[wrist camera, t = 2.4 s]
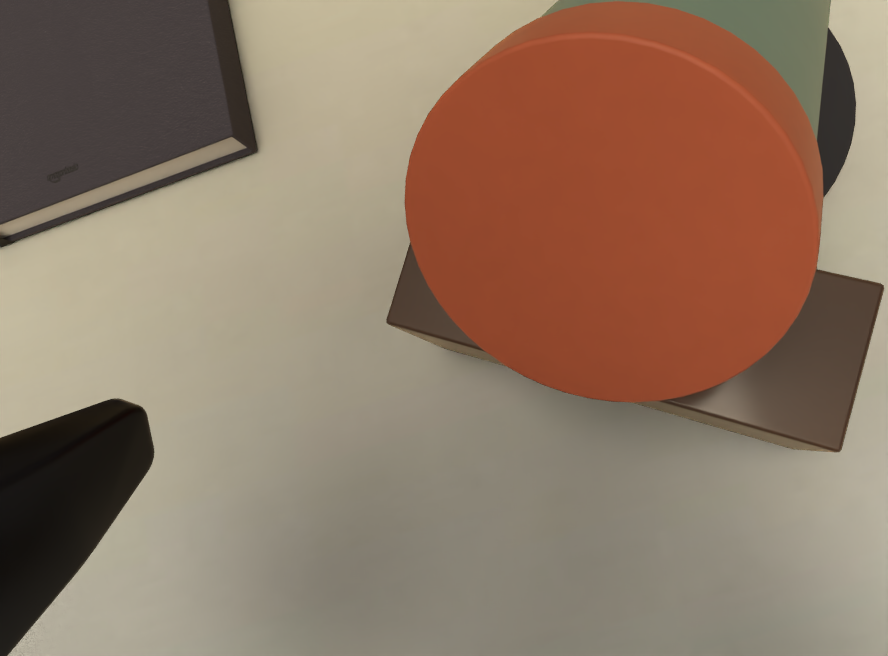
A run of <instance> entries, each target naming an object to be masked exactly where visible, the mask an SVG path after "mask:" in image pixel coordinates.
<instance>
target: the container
mask: <svg viewBox="0 0 888 656" xmlns="http://www.w3.org/2000/svg"><path fill="white" fill-rule="evenodd" d="M830 3H831V0H559V1H558V2H556V3H555V4H554V5H553V6H552V7H551V8H550V9H549V10H548V11H547V12H546V13H545V14H544V15H543V16H541V17H540V18H538V19H536V20H534V21H532V22H530V23H529V24H527V25H525V26H523V27H521V28H519V29H518V30H516V31H514V32H513V33H511V34H510V35H509V36H507V37H506V38H505V39H503V40H502V41H501V42H499V43H498V44H497V45H495V46H494V47H493V48H492V49H491V50H490V51H489V52H487V53H486V54H485V55H484V56H483V57H482V58H481V59H480V60H479V61H477V62H476V63H475V64H474V65H473V66H472V67H471V68H470V69H468V70H467V71H466V72H465V73H464V74H463V75H462V76H461V77H460V78H459V79H458V80H457V81H456V82H455V83H454V84H453V85H452V86H451V87H450V88H449V89H448V90H447V91H446V92H445V93H444V94H443V95H442V96H441V97H440V99H439V100H438V102H437V103H436V104H435V106H434V107H433V108H432V110H431V111H430V113H429V114H428V116H427V118H426V120H425V121H424V123H423V125H422V127H421V129H420V131H419V133H418V135H417V138H416V141H415V144H414V147H413V149H412V152H411V155H410V160H409V165H408V170H407V175H406V186H405V211H406V223H407V228H408V233H409V237H410V242H411V246H412V249H413V252H414V255H415V257H416V260H417V263H418V266H419V268H420V270H421V272H422V274H423V276H424V278H425V280H426V283H427V285H428V286H429V288H430V290H431V291H432V293H433V294H434V296H435V298H436V299H437V301H438V302H439V304H440V305H441V306H442V308H443V309H444V310H445V312H446V313H447V314H448V315H449V317H450V318H451V319H452V320H453V322H454V323H455V324H456V325H457V326H458V327H459V328H460V329H461V330H462V331H463V332H464V333H465V334H466V335H467V336H468V337H469V338H470V339H471V340H472V341H473V342H475V343H476V344H477V345H478V346H479V347H481V348H482V349H483V350H484V351H485V352H487V353H488V354H489V355H491V356H492V357H494V358H495V359H497V360H498V361H499V362H501V363H502V364H504V365H505V366H507V367H509V368H511V369H512V370H514V371H516V372H518V373H519V374H521V375H523V376H525V377H527V378H529V379H532V380H534V381H536V382H538V383H540V384H543V385H545V386H548V387H551V388H554V389H557V390H560V391H562V392H565V393H569V394H573V395H577V396H582V397H586V398H591V399H598V400H605V401H613V402H650V401H661V400H667V399H673V398H679V397H684V396H687V395H691V394H694V393H698V392H701V391H704V390H707V389H709V388H711V387H714V386H716V385H719V384H721V383H723V382H726V381H727V380H729V379H731V378H733V377H734V376H736V375H738V374H740V373H741V372H743V371H745V370H746V369H748V368H749V367H750V366H752V365H753V364H754V363H755V362H757V361H758V360H759V359H761V358H762V357H763V356H764V355H766V354H767V353H768V352H769V351H770V350H771V349H772V348H773V347H774V346H775V345H776V343H777V342H778V341H779V340H780V339H781V338H782V337H783V336H784V335H785V333H786V332H787V331H788V329H789V328H790V326H791V325H792V324H793V322H794V321H795V319H796V318H797V316H798V315H799V313H800V311H801V309H802V307H803V305H804V303H805V301H806V298H807V296H808V294H809V292H810V288H811V285H812V282H813V279H814V275H815V272H816V268H817V261H818V253H819V245H820V234H821V220H822V207H823V169H822V164H821V159H820V154H819V148H818V143H817V133H818V123H819V113H820V103H821V93H822V83H823V73H824V63H825V53H826V43H827V33H828V23H829V13H830Z"/></svg>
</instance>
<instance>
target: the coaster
mask: <svg viewBox="0 0 888 656" xmlns="http://www.w3.org/2000/svg"><path fill="white" fill-rule="evenodd" d="M855 112H856V100H855V91H854V83H853V79H852V75H851V72H850V68H849V64H848V62H847V60H846V58H845V55H844V53H843V51H842V49H841V46H840V45H839V43H838V42H837V40H836V38H835V37H834V35H833V34H832V32H831V31H830V29H829V28H828V33H827V43H826V53H825V63H824V73H823V83H822V93H821V103H820V113H819V123H818V133H817V143H818V148H819V154H820V159H821V164H822V169H823V198H824V196H825V195H826V193H827V192H828V191H829V189H830V188H831V186H832V185H833V183H834V182H835V180H836V178H837V176H838V174H839V172H840V170H841V168H842V167H843V165H844V162H845V160H846V157H847V154H848V151H849V148H850V145H851V141H852V136H853V131H854V126H855Z"/></svg>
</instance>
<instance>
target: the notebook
mask: <svg viewBox="0 0 888 656" xmlns="http://www.w3.org/2000/svg"><path fill="white" fill-rule="evenodd" d="M256 151H257V149H256V144H255V139H254V134H253V129H252V124H251V119H250V113H249V108H248V103H247V98H246V93H245V88H244V83H243V78H242V73H241V68H240V63H239V58H238V53H237V48H236V42H235V37H234V32H233V27H232V22H231V17H230V12H229V7H228V2H227V0H0V246H5V245H8V244H10V243H13V242H15V241H16V240H19V239H22V238H25V237H27V236H30V235H33V234H35V233H38V232H41V231H44V230H46V229H49V228H52V227H54V226H57V225H60V224H63V223H65V222H68V221H71V220H73V219H76V218H79V217H81V216H84V215H87V214H90V213H92V212H95V211H98V210H100V209H103V208H106V207H109V206H111V205H114V204H117V203H119V202H122V201H125V200H127V199H130V198H133V197H136V196H138V195H141V194H144V193H146V192H149V191H152V190H155V189H157V188H160V187H163V186H165V185H168V184H171V183H174V182H176V181H179V180H182V179H184V178H187V177H190V176H192V175H195V174H198V173H201V172H203V171H206V170H209V169H211V168H214V167H217V166H220V165H222V164H225V163H228V162H230V161H233V160H236V159H238V158H241V157H244V156H247V155H249V154H252V153H255V152H256Z"/></svg>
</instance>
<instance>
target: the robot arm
mask: <svg viewBox="0 0 888 656" xmlns="http://www.w3.org/2000/svg"><path fill="white" fill-rule="evenodd" d="M153 458H154V446H153V442H152V437H151V432H150V427H149V422H148V417H147V414H146V411H145V410H144V409H143V408H142V407H141V406H139V405H136V404H133V403H131V402H128V401H125V400H122V399H110V400H107V401H104V402H101V403H98V404H95V405H92V406H90V407H87V408H84V409H81V410H78V411H75V412H72V413H70V414H67V415H64V416H61V417H58V418H55V419H53V420H50V421H47V422H44V423H41V424H38V425H36V426H33V427H30V428H27V429H24V430H21V431H18V432H16V433H13V434H10V435H7V436H4V437H1V438H0V656H8V654H9V653H10V652H11V651H12V650H13V648H14V647H15V646H16V645H17V644H18V642H19V641H20V640H21V639H22V638H23V636H24V635H25V634H26V633H27V632H28V630H29V629H30V628H31V627H32V626H33V624H34V623H35V622H36V621H37V620H38V619H39V617H40V616H41V615H42V614H43V613H44V611H45V610H46V609H47V608H48V607H49V605H50V604H51V603H52V602H53V601H54V599H55V598H56V597H57V596H58V595H59V593H60V592H61V591H62V590H63V589H64V587H65V586H66V585H67V584H68V583H69V581H70V580H71V579H72V578H73V577H74V575H75V574H76V573H77V572H78V570H79V569H80V568H81V567H82V565H83V564H84V563H85V561H86V560H87V559H88V557H89V556H90V555H91V553H92V552H93V550H94V549H95V548H96V546H97V545H98V543H99V542H100V540H101V539H102V537H103V536H104V535H105V533H106V532H107V530H108V529H109V527H110V526H111V524H112V523H113V521H114V520H115V519H116V517H117V516H118V514H119V513H120V511H121V510H122V508H123V507H124V505H125V504H126V503H127V501H128V500H129V498H130V497H131V495H132V494H133V492H134V491H135V489H136V488H137V486H138V485H139V484H140V482H141V481H142V479H143V478H144V476H145V475H146V473H147V472H148V470H149V469H150V467H151V464H152V462H153Z"/></svg>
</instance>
